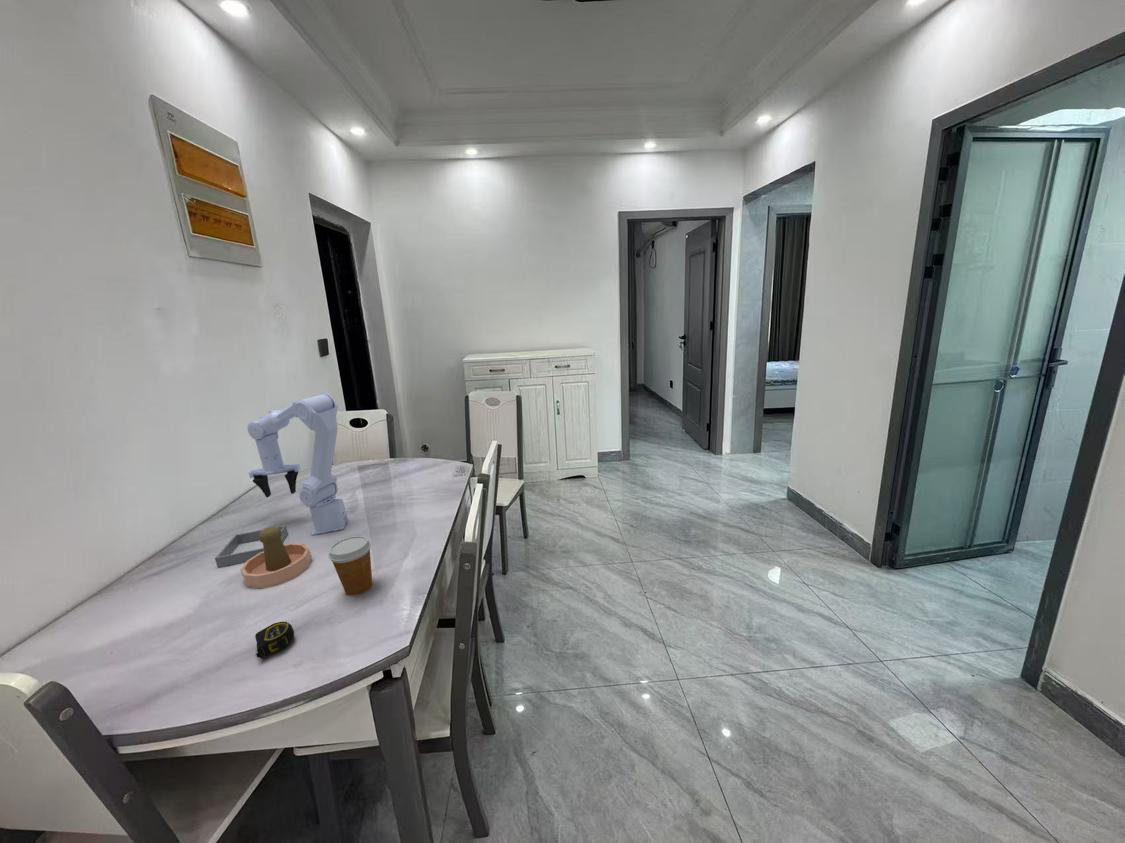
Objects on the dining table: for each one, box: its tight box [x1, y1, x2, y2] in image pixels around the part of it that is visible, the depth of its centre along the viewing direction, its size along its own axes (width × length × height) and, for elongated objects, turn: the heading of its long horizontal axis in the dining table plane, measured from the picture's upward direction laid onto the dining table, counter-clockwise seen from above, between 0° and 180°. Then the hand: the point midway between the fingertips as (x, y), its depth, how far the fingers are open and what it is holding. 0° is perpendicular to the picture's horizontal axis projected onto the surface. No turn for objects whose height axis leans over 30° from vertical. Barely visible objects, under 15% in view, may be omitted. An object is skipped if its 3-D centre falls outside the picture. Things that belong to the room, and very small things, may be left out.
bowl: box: [240, 542, 313, 589], centre depth 124 cm, size 16×16×4 cm
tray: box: [214, 525, 289, 568], centre depth 137 cm, size 14×14×3 cm
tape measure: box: [254, 621, 295, 659], centre depth 95 cm, size 7×7×4 cm
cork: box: [258, 526, 291, 571], centre depth 124 cm, size 6×6×11 cm
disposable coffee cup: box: [327, 535, 373, 597], centre depth 112 cm, size 10×10×12 cm
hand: (281, 494), depth 150 cm, fingers open, 7 cm apart
